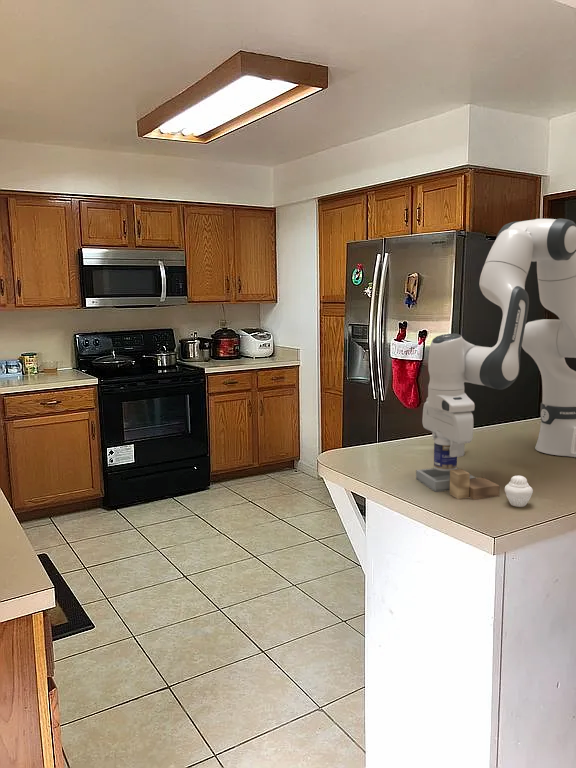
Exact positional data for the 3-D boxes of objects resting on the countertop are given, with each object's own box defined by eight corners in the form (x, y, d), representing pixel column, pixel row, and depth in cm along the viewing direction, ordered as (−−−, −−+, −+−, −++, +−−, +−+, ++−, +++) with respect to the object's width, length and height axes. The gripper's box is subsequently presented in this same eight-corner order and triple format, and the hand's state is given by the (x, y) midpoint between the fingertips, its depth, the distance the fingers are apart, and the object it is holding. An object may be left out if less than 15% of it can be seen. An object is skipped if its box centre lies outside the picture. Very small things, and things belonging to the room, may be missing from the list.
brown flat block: (482, 489, 161) (482, 477, 161) (499, 497, 154) (499, 485, 154) (457, 492, 159) (457, 480, 159) (473, 501, 152) (473, 488, 152)
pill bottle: (444, 473, 161) (444, 434, 159) (429, 467, 166) (429, 429, 164) (461, 469, 163) (462, 431, 162) (446, 464, 168) (446, 427, 167)
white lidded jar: (498, 503, 149) (498, 474, 148) (516, 498, 152) (516, 469, 151) (520, 511, 144) (521, 480, 143) (538, 505, 147) (539, 476, 146)
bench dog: (460, 492, 158) (461, 468, 157) (469, 497, 154) (469, 473, 153) (449, 493, 157) (449, 470, 156) (457, 499, 153) (458, 474, 152)
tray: (454, 475, 172) (454, 466, 171) (475, 487, 161) (475, 477, 161) (416, 479, 169) (416, 470, 169) (435, 491, 159) (435, 482, 158)
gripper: (416, 393, 171) (416, 444, 173) (454, 407, 151) (453, 464, 154) (438, 392, 173) (437, 442, 175) (478, 405, 153) (477, 461, 155)
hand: (445, 452), depth 164 cm, fingers closed on pill bottle, 6 cm apart
